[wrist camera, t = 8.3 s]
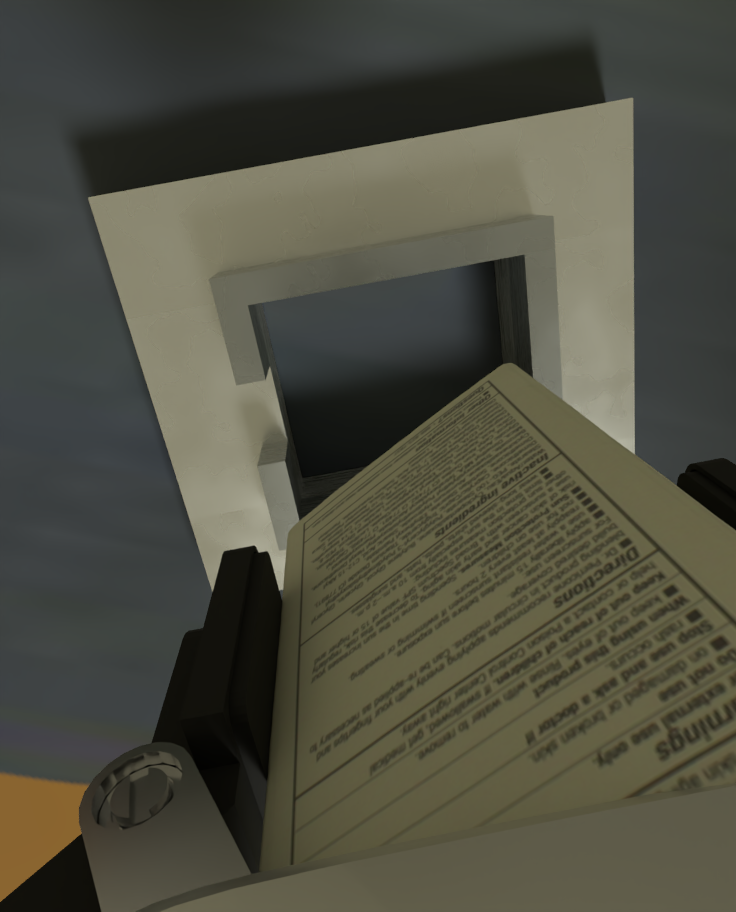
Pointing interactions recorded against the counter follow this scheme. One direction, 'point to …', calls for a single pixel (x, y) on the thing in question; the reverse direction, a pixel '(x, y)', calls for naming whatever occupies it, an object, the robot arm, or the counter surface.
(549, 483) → the skincare box
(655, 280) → the counter surface
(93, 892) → the robot arm
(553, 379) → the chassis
